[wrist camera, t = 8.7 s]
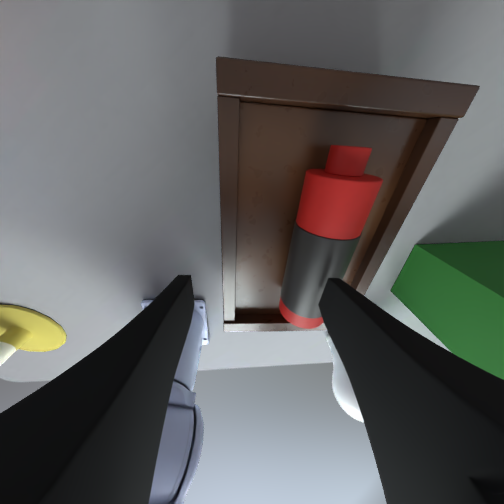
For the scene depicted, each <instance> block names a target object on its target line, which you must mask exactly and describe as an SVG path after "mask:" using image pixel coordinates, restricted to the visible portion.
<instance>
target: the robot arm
mask: <svg viewBox="0 0 504 504" xmlns="http://www.w3.org/2000/svg"><path fill="white" fill-rule="evenodd" d="M318 305H319V309H320V312H321V315H322V318H323V321H324V324H325V326H326V328H327V331H328V333H329V335H330V337H331V339H332V342H333V344H334V346H335V348H336V350H337V352H338V354H339V356H340V359H341V361H342V363H343V365H344V367H345V370H346V372H347V375H348V377H349V380H350V383H351V385H352V388H353V391H354V394H355V397H356V399H357V402H358V405H359V408H360V411H361V414H362V417H363V420H364V423H365V427H366V430H367V433H368V436H369V440H370V443H371V447H372V450H373V453H374V457H375V460H376V464H377V468H378V471H379V475H380V479H381V482H382V486H383V490H384V494H385V498H386V502H387V504H504V380H503V379H501V378H499V377H497V376H495V375H493V374H491V373H489V372H487V371H485V370H483V369H481V368H479V367H477V366H475V365H473V364H471V363H469V362H468V361H466V360H464V359H462V358H460V357H458V356H457V355H455V354H453V353H451V352H449V351H447V350H446V349H444V348H442V347H440V346H439V345H437V344H435V343H433V342H432V341H430V340H429V339H427V338H425V337H424V336H422V335H420V334H419V333H417V332H415V331H414V330H412V329H411V328H409V327H408V326H406V325H404V324H403V323H402V322H400V321H399V320H397V319H396V318H394V317H393V316H391V315H390V314H388V313H387V312H385V311H384V310H383V309H381V308H380V307H378V306H377V305H376V304H374V303H373V302H372V301H370V300H369V299H368V298H366V297H365V296H364V295H362V294H361V293H359V292H358V291H357V290H355V289H354V288H353V287H351V286H350V285H349V284H347V283H346V282H344V281H343V280H341V279H340V278H328V280H327V283H326V285H325V288H324V291H323V293H322V296H321V299H320V301H319V304H318ZM141 306H142V309H143V311H142V312H140V313H139V314H138V315H137V316H136V317H135V318H134V319H133V320H131V321H130V322H129V323H128V324H127V325H126V326H125V327H123V328H122V329H121V330H120V331H119V332H117V333H116V334H115V335H114V336H113V337H111V338H110V339H109V340H107V341H106V342H105V343H104V344H102V345H101V346H100V347H98V348H97V349H96V350H94V351H93V352H92V353H90V354H89V355H88V356H86V357H85V358H83V359H82V360H80V361H79V362H78V363H76V364H75V365H73V366H72V367H71V368H69V369H68V370H66V371H65V372H64V373H62V374H61V375H59V376H58V377H56V378H55V379H53V380H52V381H50V382H49V383H47V384H46V385H44V386H43V387H41V388H40V389H38V390H37V391H35V392H34V393H32V394H30V395H29V396H27V397H26V398H24V399H22V400H21V401H19V402H18V403H16V404H15V405H13V406H11V407H10V408H8V409H7V410H5V411H3V412H2V413H0V504H183V503H184V500H185V497H186V495H187V492H188V490H189V487H190V486H191V484H192V481H193V479H194V476H195V474H196V470H197V467H198V463H199V459H200V455H201V450H202V444H203V433H204V424H203V417H202V414H201V410H200V408H199V406H198V405H196V404H194V402H195V397H196V393H195V392H192V390H193V388H194V385H195V380H196V374H197V369H198V364H199V358H200V353H201V347H202V345H206V344H208V343H209V336H208V326H207V316H206V306H205V302H204V301H203V300H194V295H193V287H192V280H191V275H178V276H177V277H176V278H175V279H174V280H173V281H172V282H171V283H170V284H169V285H168V286H167V287H166V288H165V289H164V290H163V291H162V292H161V293H160V294H159V295H158V296H157V297H156V298H155V299H154V300H143V301H142V302H141Z"/></svg>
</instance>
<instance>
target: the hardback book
mask: <svg viewBox="0 0 504 504" xmlns="http://www.w3.org/2000/svg"><path fill="white" fill-rule="evenodd" d="M391 292H392V293H393V294H394V295H395V296H396V297H397V298H398V299H399V300H400V301H401V302H402V303H403V304H404V305H405V306H406V307H407V308H408V309H409V310H410V311H411V312H412V313H413V314H414V315H415V316H416V317H417V318H418V319H419V320H420V321H421V322H422V323H423V324H424V325H425V326H426V327H427V328H428V329H429V330H430V331H431V332H432V333H433V334H434V335H435V336H436V337H437V338H438V339H439V340H440V341H441V342H442V343H443V344H444V345H445V346H446V347H447V348H448V349H449V350H450V351H451V352H452V353H453V354H455V355H457V356H458V357H460V358H462V359H464V360H466V361H468V362H469V363H471V364H473V365H475V366H477V367H479V368H481V369H483V370H485V371H487V372H489V373H491V374H493V375H495V376H497V377H499V378H501V379H503V380H504V241H487V242H464V243H441V244H417V245H415V246H414V248H413V250H412V252H411V253H410V255H409V257H408V259H407V261H406V263H405V265H404V267H403V268H402V270H401V272H400V274H399V276H398V278H397V280H396V282H395V283H394V285H393V287H392V289H391Z"/></svg>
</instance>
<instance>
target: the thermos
mask: <svg viewBox="0 0 504 504" xmlns="http://www.w3.org/2000/svg"><path fill="white" fill-rule="evenodd" d="M371 151H372V148H368V147H355V146H341V145H331V146H330V150H329V154H328V158H327V162H326V166H325V169H309V170H307V171H306V174H305V179H304V184H303V188H302V193H301V198H300V203H299V208H298V213H297V218H296V220H295V224H294V229H293V234H292V239H291V244H290V249H289V254H288V259H287V264H286V269H285V274H284V278H283V283H282V288H281V297H280V302H279V309H280V312H281V314H282V315H283V317H284V318H285V319H286V320H287V321H288V322H290V323H291V324H293V325H295V326H297V327H300V328H304V329H313V328H316V327H319V326H320V325H321V324H322V323H323V322H324V321H323V318H322V315H321V312H320V309H319V305H318V304H319V301H320V299H321V296H322V293H323V291H324V288H325V285H326V283H327V280H328V278H340V279H341V280H343V277H344V275H345V273H346V270H347V268H348V266H349V263H350V261H351V259H352V256H353V254H354V252H355V249H356V247H357V244H358V242H359V240H360V237H361V234H362V233H361V232H362V230H363V228H364V225H365V223H366V220H367V218H368V216H369V213H370V211H371V209H372V206H373V204H374V201H375V199H376V197H377V194H378V192H379V190H380V187H381V185H382V182H383V179H382V178H380V177H377V176H374V175H369V174H364V170H365V167H366V165H367V162H368V159H369V156H370V154H371Z"/></svg>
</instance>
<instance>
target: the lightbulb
mask: <svg viewBox="0 0 504 504" xmlns="http://www.w3.org/2000/svg"><path fill="white" fill-rule="evenodd" d="M326 341H327V343H328V346H329V348H330V350H331V353H332V361H333V366H334V367H333V374H332V389H333V393H334V395H335V398H336V400H337V402H338V403H339V405H340V406H341V408H342V409H343V410H344V411H345V412H346V413H347V414H348V415H349V416H351V417H352V418H354V419H355V420H358V421H360V422H363V423H364V420H363V417H362V414H361V411H360V408H359V405H358V402H357V399H356V397H355V394H354V391H353V388H352V385H351V383H350V380H349V377H348V375H347V372H346V370H345V367H344V365H343V363H342V361H341V359H340V356H339V354H338V352H337V350H336V348H335V346H334V344H333V342H332V339H331V337H330V335H328V336H327V337H326Z"/></svg>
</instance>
